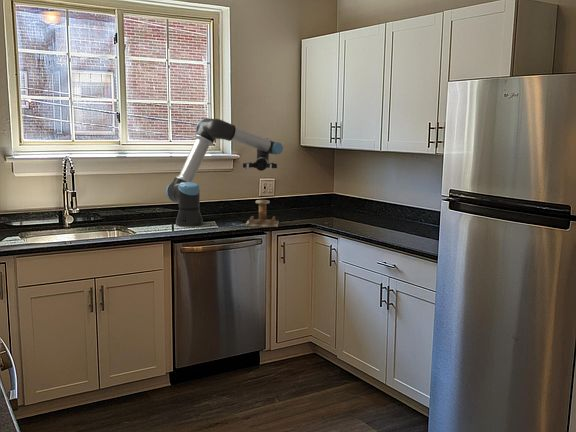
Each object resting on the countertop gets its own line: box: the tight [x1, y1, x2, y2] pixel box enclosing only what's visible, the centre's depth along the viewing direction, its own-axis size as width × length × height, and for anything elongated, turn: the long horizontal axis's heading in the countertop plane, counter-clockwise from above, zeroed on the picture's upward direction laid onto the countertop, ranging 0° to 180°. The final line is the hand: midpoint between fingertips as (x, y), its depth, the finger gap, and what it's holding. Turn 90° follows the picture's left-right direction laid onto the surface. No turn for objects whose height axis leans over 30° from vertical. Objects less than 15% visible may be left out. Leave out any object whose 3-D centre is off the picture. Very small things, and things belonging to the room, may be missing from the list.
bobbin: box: [255, 199, 271, 220], centre depth 339 cm, size 8×8×12 cm
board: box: [245, 215, 280, 228], centre depth 340 cm, size 18×14×4 cm
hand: (258, 166), depth 347 cm, fingers open, 13 cm apart
